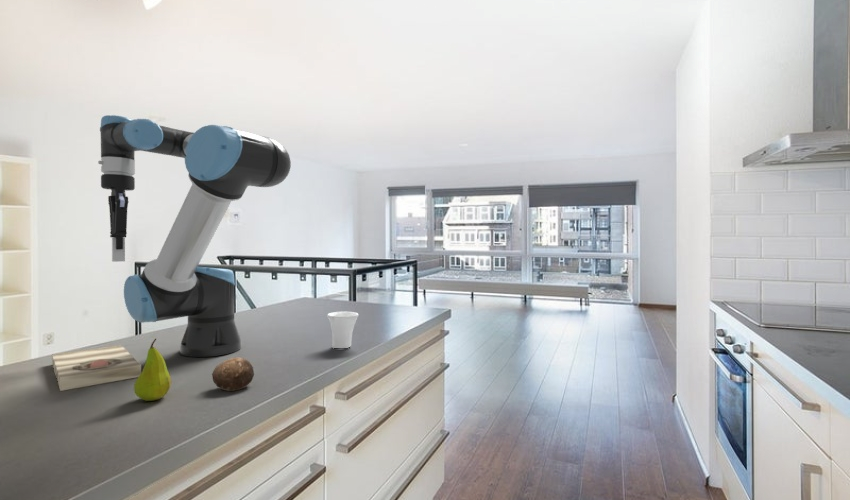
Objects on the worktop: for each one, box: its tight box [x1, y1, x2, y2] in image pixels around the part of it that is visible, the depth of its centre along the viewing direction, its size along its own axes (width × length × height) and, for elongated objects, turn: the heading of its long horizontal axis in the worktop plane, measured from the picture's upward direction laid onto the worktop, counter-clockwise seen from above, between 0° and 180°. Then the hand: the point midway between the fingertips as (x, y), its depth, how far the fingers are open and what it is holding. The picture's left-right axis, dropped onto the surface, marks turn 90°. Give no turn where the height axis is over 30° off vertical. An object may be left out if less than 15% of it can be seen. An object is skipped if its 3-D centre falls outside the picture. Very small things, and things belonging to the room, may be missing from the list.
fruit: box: [133, 338, 172, 402], centre depth 85 cm, size 6×6×12 cm
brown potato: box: [211, 357, 255, 392], centre depth 93 cm, size 8×8×6 cm
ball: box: [90, 359, 109, 368], centre depth 99 cm, size 4×4×4 cm
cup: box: [326, 311, 359, 349], centre depth 126 cm, size 9×9×10 cm
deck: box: [51, 344, 142, 392], centre depth 102 cm, size 24×14×2 cm, turn 44°
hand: (118, 261), depth 120 cm, fingers closed
